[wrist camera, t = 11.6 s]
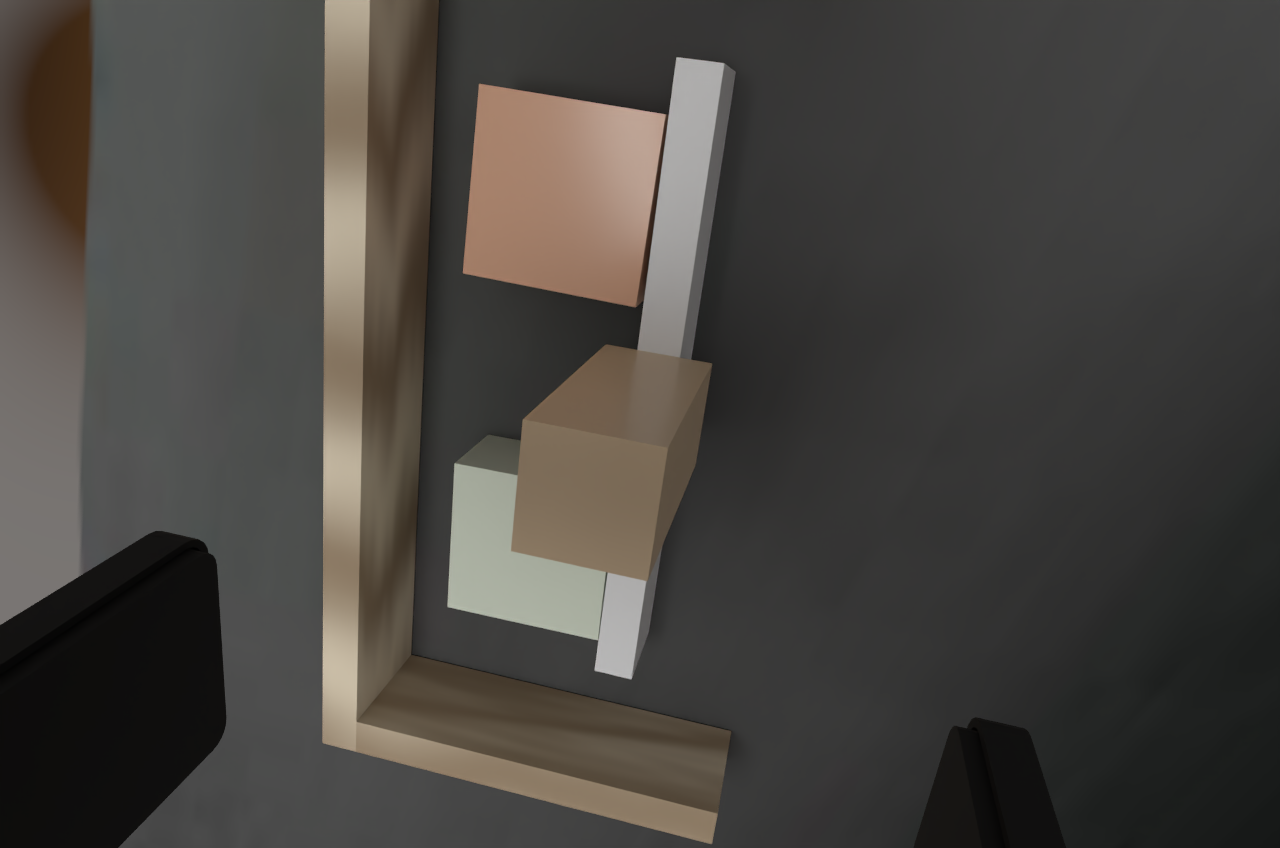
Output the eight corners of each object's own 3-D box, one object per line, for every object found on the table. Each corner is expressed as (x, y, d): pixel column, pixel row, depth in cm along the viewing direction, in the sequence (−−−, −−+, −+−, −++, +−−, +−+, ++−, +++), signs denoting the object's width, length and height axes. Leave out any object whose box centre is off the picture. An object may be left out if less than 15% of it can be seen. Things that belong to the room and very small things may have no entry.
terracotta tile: (517, 90, 25) (479, 83, 23) (683, 117, 25) (665, 114, 22) (500, 259, 27) (462, 273, 24) (655, 290, 26) (635, 307, 24)
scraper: (662, 63, 24) (559, 13, 15) (769, 76, 24) (731, 34, 15) (591, 615, 30) (485, 826, 21) (675, 635, 30) (605, 858, 21)
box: (403, -129, 24) (325, -179, 20) (888, -85, 22) (901, -131, 18) (380, 674, 33) (322, 742, 29) (725, 758, 31) (711, 844, 27)
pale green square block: (490, 432, 29) (454, 463, 26) (636, 459, 28) (615, 494, 25) (482, 564, 31) (447, 606, 28) (619, 593, 30) (597, 640, 27)
